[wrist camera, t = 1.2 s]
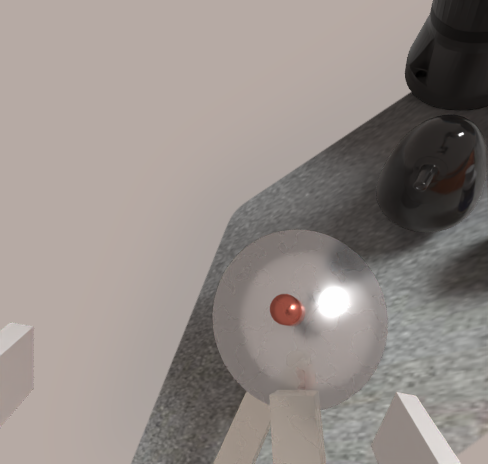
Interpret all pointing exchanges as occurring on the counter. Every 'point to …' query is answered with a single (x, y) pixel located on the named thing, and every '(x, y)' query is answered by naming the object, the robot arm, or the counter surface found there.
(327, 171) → the counter surface
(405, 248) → the counter surface
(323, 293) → the lid
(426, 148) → the pump dispenser
